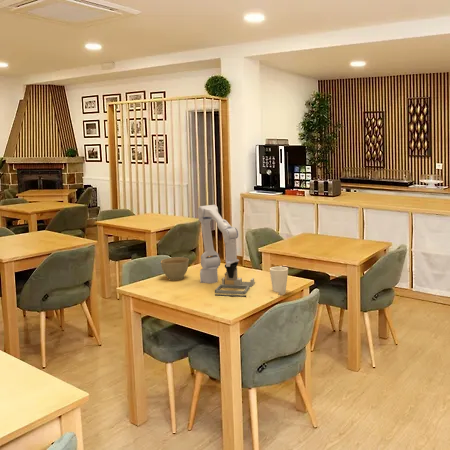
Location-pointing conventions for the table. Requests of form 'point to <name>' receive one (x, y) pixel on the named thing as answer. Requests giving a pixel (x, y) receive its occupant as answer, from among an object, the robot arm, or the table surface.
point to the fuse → (228, 280)
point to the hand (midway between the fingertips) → (231, 277)
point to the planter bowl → (175, 267)
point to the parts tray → (232, 291)
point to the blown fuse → (233, 276)
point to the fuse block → (240, 282)
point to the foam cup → (279, 279)
